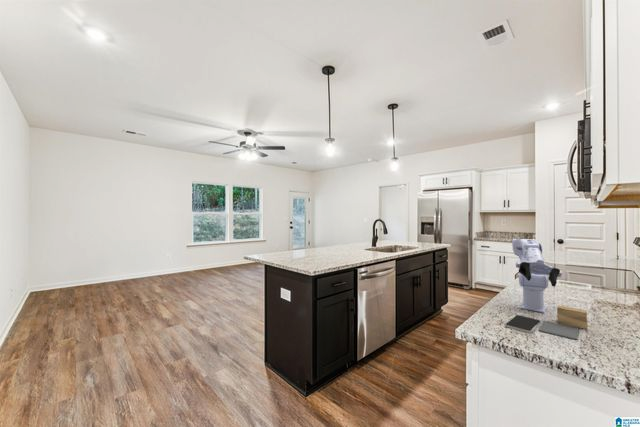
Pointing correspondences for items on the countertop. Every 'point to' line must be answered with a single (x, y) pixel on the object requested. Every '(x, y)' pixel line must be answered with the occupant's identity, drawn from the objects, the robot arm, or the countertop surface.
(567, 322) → the oak slab
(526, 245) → the robot arm
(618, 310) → the countertop surface
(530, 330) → the smartphone
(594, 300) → the countertop surface
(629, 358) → the countertop surface
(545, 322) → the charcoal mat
